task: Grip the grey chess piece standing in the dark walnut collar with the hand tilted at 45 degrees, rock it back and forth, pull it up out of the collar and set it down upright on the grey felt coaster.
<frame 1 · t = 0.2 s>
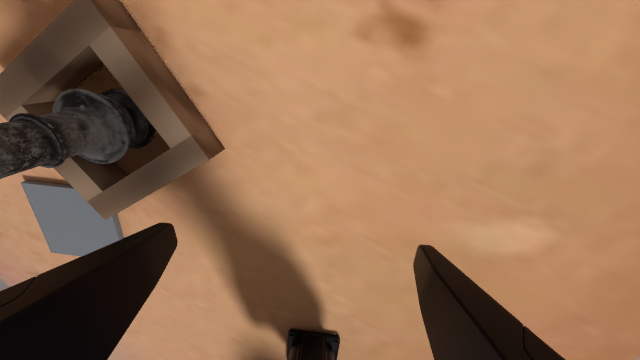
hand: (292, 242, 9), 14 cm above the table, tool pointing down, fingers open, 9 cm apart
coaster: (81, 221, 28), on the table
collar: (125, 119, 23), on the table
grey chess piece: (127, 119, 23), resting in collar
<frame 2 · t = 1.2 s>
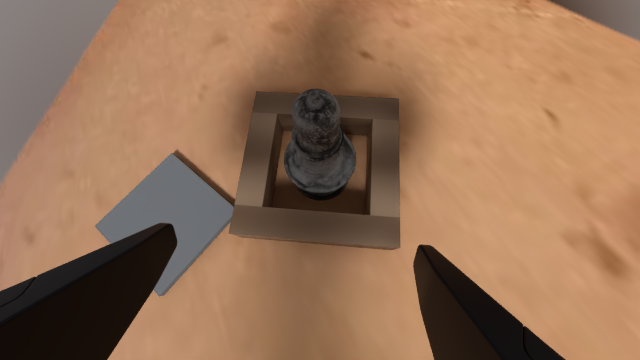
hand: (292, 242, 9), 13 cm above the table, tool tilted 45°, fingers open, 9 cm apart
coaster: (169, 219, 23), on the table
collar: (321, 173, 24), on the table
grey chess piece: (321, 173, 24), resting in collar
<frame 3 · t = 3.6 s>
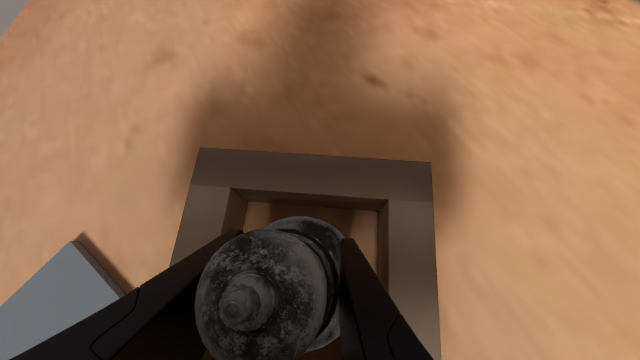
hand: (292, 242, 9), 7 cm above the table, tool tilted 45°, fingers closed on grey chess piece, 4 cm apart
coaster: (57, 358, 14), on the table
collar: (304, 276, 15), on the table
grey chess piece: (305, 275, 15), resting in collar, touching gripper
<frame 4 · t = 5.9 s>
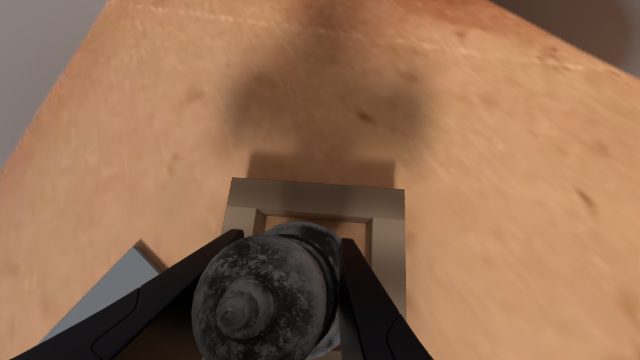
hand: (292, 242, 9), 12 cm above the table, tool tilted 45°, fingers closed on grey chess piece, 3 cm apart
coaster: (128, 333, 19), on the table
collar: (311, 273, 20), on the table
grey chess piece: (304, 282, 15), point 5 cm above the table, touching gripper
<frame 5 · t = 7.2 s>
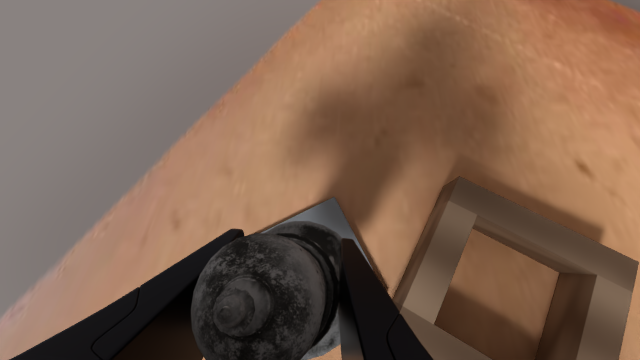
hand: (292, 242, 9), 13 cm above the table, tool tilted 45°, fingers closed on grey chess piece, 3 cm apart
coaster: (311, 268, 21), on the table
collar: (490, 293, 20), on the table
grey chess piece: (307, 281, 15), point 6 cm above the table, touching gripper
when the fingers open (8 cm above the table, at t = 8.3 s): grey chess piece stays where it is, resting on coaster.
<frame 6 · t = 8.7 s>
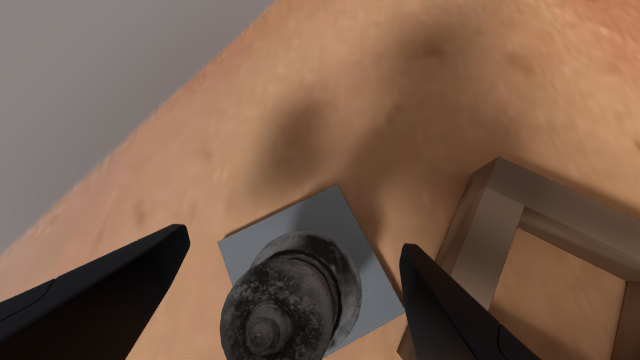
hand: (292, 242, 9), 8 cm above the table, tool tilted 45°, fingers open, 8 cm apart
coaster: (307, 274, 17), on the table
collar: (538, 308, 16), on the table
grey chess piece: (308, 284, 16), resting on coaster
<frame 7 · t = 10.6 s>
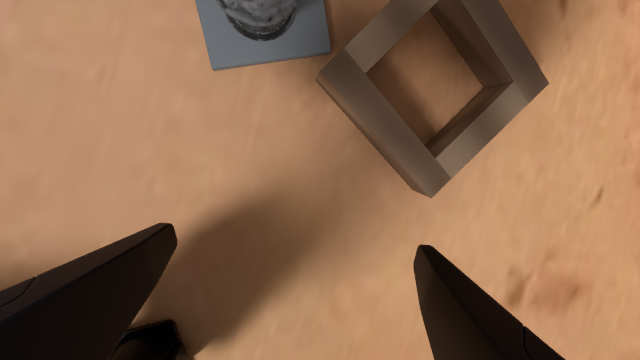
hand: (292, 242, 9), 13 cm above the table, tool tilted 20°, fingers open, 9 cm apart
collar: (421, 84, 22), on the table
grey chess piece: (259, 2, 19), resting on coaster
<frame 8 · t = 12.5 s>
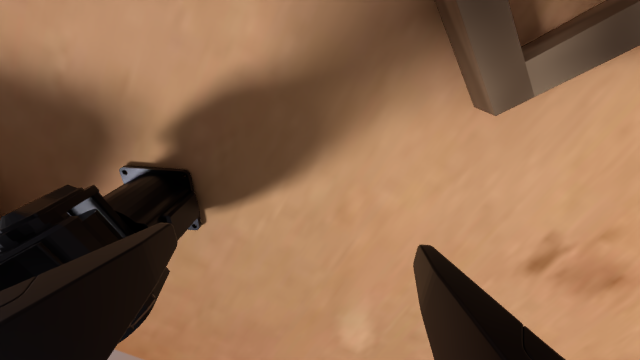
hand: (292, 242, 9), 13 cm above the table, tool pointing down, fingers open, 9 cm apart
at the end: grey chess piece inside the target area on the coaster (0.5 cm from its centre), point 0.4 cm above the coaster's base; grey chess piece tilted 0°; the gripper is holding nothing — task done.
